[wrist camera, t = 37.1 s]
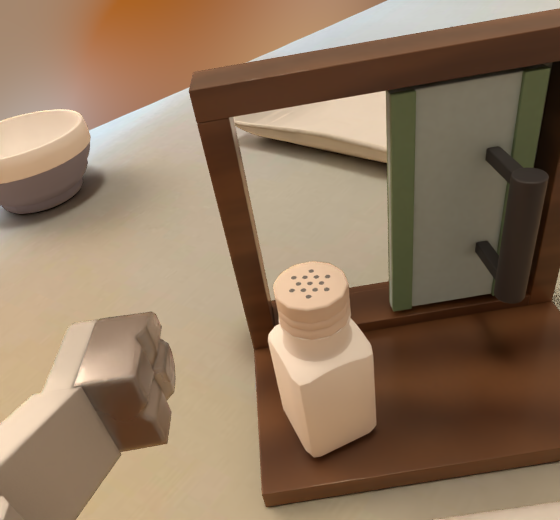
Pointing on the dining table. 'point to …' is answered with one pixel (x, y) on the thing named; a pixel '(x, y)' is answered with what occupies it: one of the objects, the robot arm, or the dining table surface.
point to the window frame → (375, 297)
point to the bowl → (42, 159)
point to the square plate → (328, 125)
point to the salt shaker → (321, 359)
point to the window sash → (464, 186)
